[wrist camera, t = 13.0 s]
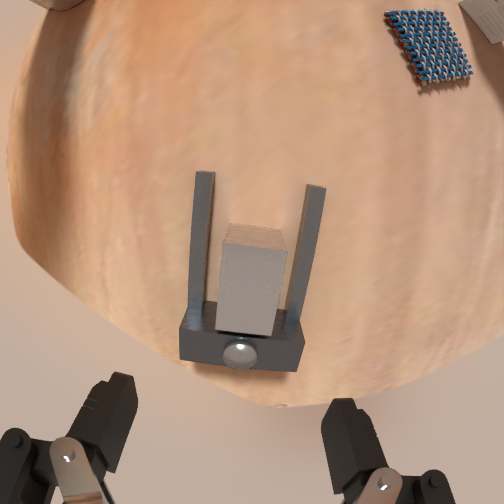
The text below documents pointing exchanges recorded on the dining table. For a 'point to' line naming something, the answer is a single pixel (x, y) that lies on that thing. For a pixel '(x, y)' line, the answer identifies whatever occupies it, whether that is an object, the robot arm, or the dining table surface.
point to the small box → (487, 17)
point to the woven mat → (429, 45)
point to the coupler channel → (204, 312)
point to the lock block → (250, 279)
